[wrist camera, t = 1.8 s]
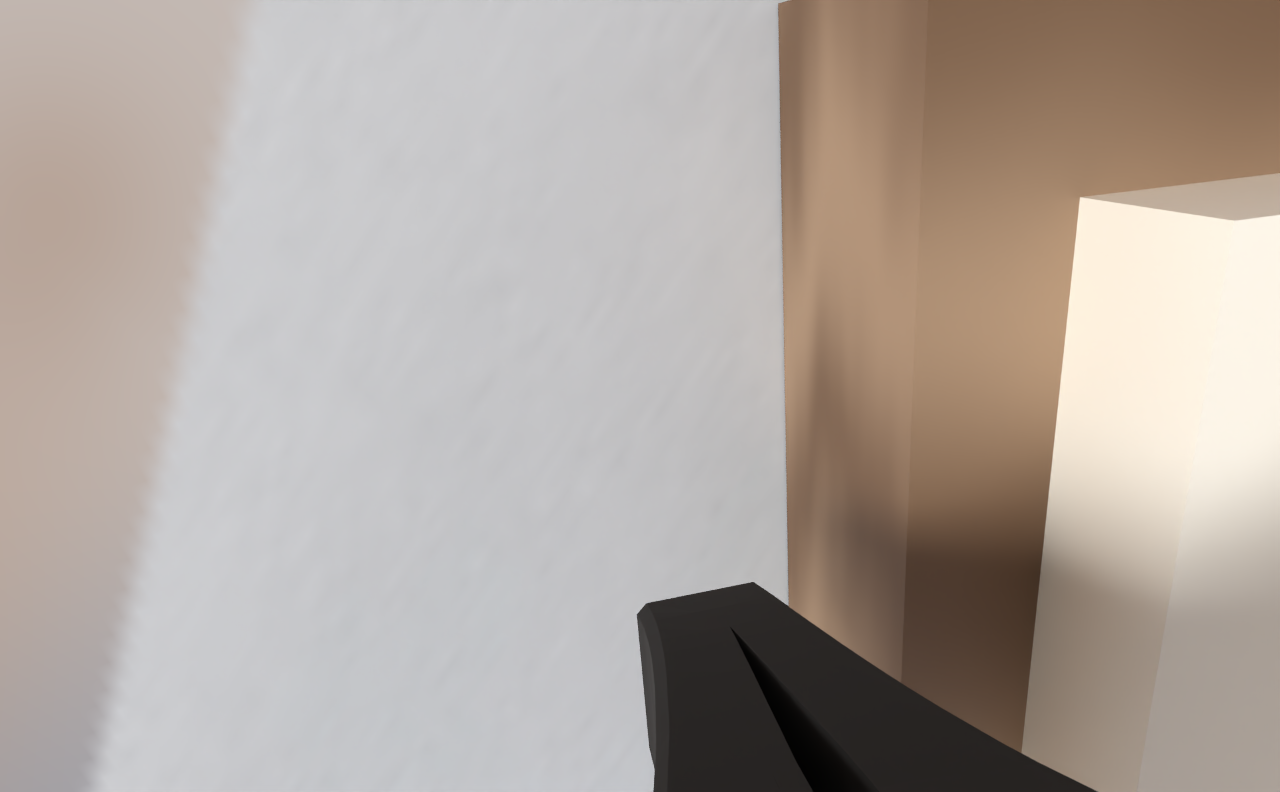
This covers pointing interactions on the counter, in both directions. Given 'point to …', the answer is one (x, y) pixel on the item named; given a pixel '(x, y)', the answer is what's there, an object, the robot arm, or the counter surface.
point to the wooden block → (967, 290)
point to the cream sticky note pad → (1165, 499)
